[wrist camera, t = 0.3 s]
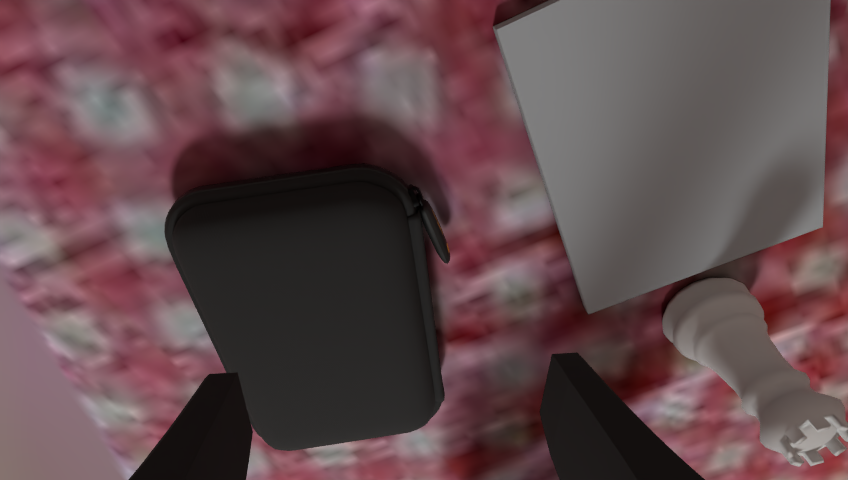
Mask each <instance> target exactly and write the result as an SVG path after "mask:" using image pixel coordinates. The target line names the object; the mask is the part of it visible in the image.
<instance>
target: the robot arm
mask: <svg viewBox="0 0 848 480" xmlns="http://www.w3.org/2000/svg"><path fill="white" fill-rule="evenodd" d="M540 416H541V420H542V424H543V428H544V432H545V436H546V440H547V444H548V447H549V451H550V455H551V458H552V460H553V463H554V466H555V468H556V471H557V474H558V476H559V479H560V480H705V479H704V478H702V477H701V476H700V475H699V474H698V473H697V472H695V471H694V470H693V469H692V468H691V467H690V466H689V465H688V464H686V463H685V462H684V461H683V460H682V459H681V458H680V457H679V456H678V455H677V454H676V453H674V452H673V451H672V450H671V449H670V448H669V447H668V446H667V445H666V444H665V443H664V442H663V441H662V440H661V439H660V438H659V437H658V436H656V435H655V434H654V433H653V432H652V431H651V430H650V429H649V428H648V427H647V426H646V425H645V424H644V423H643V422H642V421H641V420H640V419H639V418H638V417H637V416H636V415H635V414H634V413H633V412H632V411H631V410H630V409H629V407H628V406H627V405H626V404H625V403H624V402H623V401H622V400H621V399H620V398H619V397H618V396H617V395H616V394H615V393H614V392H613V391H612V390H611V388H610V387H609V386H608V385H607V384H606V383H605V382H604V381H603V380H602V379H601V378H600V377H599V376H598V374H597V373H596V372H595V371H594V370H593V369H592V368H591V367H590V366H589V365H588V364H587V362H586V361H585V360H584V359H583V358H582V357H581V356H580V355H579V354H578V353H563V354H552V357H551V361H550V366H549V371H548V375H547V380H546V385H545V389H544V394H543V399H542V403H541V408H540ZM252 433H253V431H252V427H251V423H250V419H249V415H248V411H247V407H246V403H245V400H244V396H243V392H242V388H241V384H240V380H239V376H238V372H237V373H220V374H209V375H208V376H207V377H206V378H205V379H204V381H203V382H202V383H201V385H200V386H199V388H198V389H197V391H196V392H195V393H194V395H193V396H192V398H191V399H190V401H189V402H188V403H187V405H186V406H185V408H184V409H183V410H182V412H181V413H180V414H179V416H178V417H177V418H176V420H175V421H174V423H173V424H172V425H171V427H170V428H169V429H168V431H167V432H166V433H165V435H164V436H163V437H162V438H161V440H160V441H159V442H158V444H157V445H156V446H155V447H154V449H153V450H152V451H151V453H150V454H149V455H148V457H147V458H146V459H145V460H144V462H143V463H142V464H141V465H140V467H139V468H138V469H137V470H136V472H135V473H134V474H133V475H132V476H131V477H130V479H129V480H246V476H247V469H248V462H249V456H250V448H251V441H252Z"/></svg>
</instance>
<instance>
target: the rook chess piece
mask: <svg viewBox="0 0 848 480" xmlns="http://www.w3.org/2000/svg"><path fill="white" fill-rule="evenodd" d="M662 325H663V333H664V335H665V336H666V337H667V338H668V339H669V340H670V342H673V344H674V346H675V347H676V348H677V349H678V351H679V352H680V353H681V354H682V355H684V356H685V357H686V358H689V359H692V360H695V361H698V362H699V364H700V365H703V366H706V367H709V368H711V369H712V370H713V371H715V372H716V373H717V374H718V375H719V376H720V377H721V378H722V379H723V380H724V381H725V382H726V383H727V384H728V385H729V386H730V387H731V388H732V389H734V390H735V392H736V393H737V394H738V395H739V397H740V398H741V399H742V409H743V410H744V411H745V412H746V413H747V414H750V415H753V416H756V417H757V418H758V420H759V422H760V442H761V443H762V444H763V445H764V446H765V447H766V448H769V449H771V450H774V451H777V452H780V453H782V454H783V455H784V456H785V458H786V459H787V460H788V461H789V462H790V464H792V465H796V466H799V467H800V466H801V465H802V464H803V463H804V461H803V460H802V459H801V457H800V456H799V455H803V457H804V458H805V459H806V460H807V462H808V463H809V464H810V465H811V466H812V465H816V464H820V463H823V462H824V460H823V458H822V457H821V456H820V454H819V453H818V452H817V451H818V450H820V449H822V448H824V447H827V448H828V449H829V450H830V451H831V452H832V453H833V454H834V455H835V456H838V455H839V454H840V453H842V452H843V451H844V450H846V449H847V448H846V447H845V446H844V445H843V444H842V443H841V442H840V440H839V439H838V437H839V436H841V437H842V438H843V439H844V440H845V441H846V442H847V441H848V423H847V422H846V421H845V407H844V405H843V403H842V402H841V400H840V399H837V398H834V397H831V396H828V395H824V394H821V393H817V392H815V391H814V390H813V389H811V388H810V379H809V378H808V376H807V375H806V373H804V372H801V371H798V370H795V369H794V368H793V367H792V366H791V365H790V364H789V363H788V362H787V361H786V360H785V359H784V358H783V356H782V355H781V354H780V352H779V351H778V349H777V348H776V347H775V345H774V344H773V342H772V341H771V340H770V337H769V335H768V333H767V324H766V323H765V321H764V311H763V309H762V307H761V305H760V304H759V302H758V301H757V299H756V298H755V296H753V295H750V292H749V291H748V289H747V288H746V286H745V285H744V284H743V283H741V282H738V281H736V280H734V279H731V278H705V279H702V280H699V281H696V282H693V283H691V284H689V285H688V286H686V287H684V288H683V289H681V290H680V291H678V292H677V293H676V295H675V296H674V297H673V298H672V299H671V300H670V301H669V302H668V305H667V307H666V310H665V312H664V315H663V320H662Z"/></svg>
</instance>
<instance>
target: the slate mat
mask: <svg viewBox="0 0 848 480" xmlns="http://www.w3.org/2000/svg"><path fill="white" fill-rule="evenodd" d="M830 1H831V0H549V1H547V2H544V3H542V4H540V5H538V6H536V7H534V8H532V9H530V10H527V11H525V12H523V13H521V14H519V15H517V16H515V17H512V18H510V19H508V20H506V21H504V22H502V23H500V24H497V25H495V26H493V29H494V32H495V35H496V38H497V41H498V44H499V47H500V51H501V54H502V57H503V60H504V63H505V66H506V69H507V72H508V75H509V78H510V81H511V84H512V87H513V91H514V94H515V97H516V100H517V103H518V106H519V109H520V112H521V115H522V118H523V121H524V124H525V127H526V131H527V134H528V137H529V140H530V143H531V146H532V149H533V152H534V155H535V158H536V161H537V164H538V167H539V170H540V174H541V177H542V180H543V183H544V186H545V189H546V192H547V195H548V198H549V201H550V204H551V207H552V210H553V214H554V217H555V220H556V223H557V226H558V229H559V232H560V235H561V238H562V241H563V244H564V247H565V250H566V254H567V257H568V260H569V263H570V266H571V269H572V272H573V275H574V278H575V281H576V284H577V287H578V290H579V293H580V297H581V300H582V303H583V306H584V308H585V310H586V311H587V313H588V314H591V313H594V312H596V311H599V310H602V309H604V308H607V307H610V306H612V305H615V304H618V303H620V302H623V301H626V300H629V299H631V298H634V297H637V296H639V295H642V294H645V293H647V292H650V291H653V290H655V289H658V288H661V287H663V286H666V285H669V284H671V283H674V282H677V281H679V280H682V279H685V278H687V277H690V276H693V275H695V274H698V273H701V272H703V271H706V270H709V269H711V268H714V267H717V266H719V265H722V264H725V263H727V262H730V261H733V260H735V259H738V258H741V257H743V256H746V255H749V254H751V253H754V252H757V251H759V250H762V249H765V248H767V247H770V246H773V245H775V244H778V243H781V242H784V241H786V240H789V239H792V238H794V237H797V236H800V235H802V234H805V233H808V232H810V231H813V230H816V229H818V228H821V227H823V203H824V174H825V145H826V116H827V87H828V59H829V30H830Z"/></svg>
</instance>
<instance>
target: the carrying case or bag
mask: <svg viewBox="0 0 848 480" xmlns="http://www.w3.org/2000/svg"><path fill="white" fill-rule="evenodd" d="M415 190H416V191H417V192H418V193H417V192H416V191H415ZM421 218H422V221H423V223H424V226H425V228H426V231H427V233H428V235H429V237H430V239H431V241H432V243H433V245H434V247H435V249H436V251H437V253H438V255H439V256H440V258H441V259H442V261H443V262H444V263H447V264H448V262H449V261H450V252H449V248H448V244H447V242H446V239H445V237H444V234H443V231H442V229H441V226H440V224H439V222H438V220H437V217H436V215H435V213H434V211H433V209H432V207H431V206H430V204H429V203H428V201H427V200H424V199H423V198H422V194H421V192H420V190H419V188H418V187H416V186H413V185H409V186H407V185H406V184H405V183H404V182H403V180H402V179H400V178H399V177H398V176H396V175H395V174H393V173H392V172H390V171H388V170H386V169H383V168H381V167H378V166H374V165H370V164H350V165H344V166H337V167H330V168H323V169H316V170H309V171H302V172H296V173H289V174H282V175H275V176H268V177H261V178H254V179H248V180H241V181H234V182H227V183H220V184H214V185H207V186H201V187H197V188H194V189H192V190H190V191H188V192H186V193H185V194H183V195H182V196H181V197H180V198H179V199H178V200H177V201H176V202H175V203H174V204H173V206H172V207H171V209H170V210H169V212H168V215H167V217H166V221H165V238H166V241H167V245H168V248H169V251H170V253H171V255H172V257H173V260H174V262H175V264H176V267H177V269H178V271H179V273H180V275H181V277H182V280H183V282H184V284H185V286H186V288H187V290H188V292H189V294H190V296H191V299H192V301H193V303H194V305H195V307H196V309H197V311H198V313H199V315H200V317H201V320H202V322H203V324H204V326H205V328H206V330H207V332H208V334H209V336H210V339H211V341H212V343H213V345H214V347H215V349H216V351H217V353H218V355H219V358H220V360H221V362H222V364H223V366H224V368H225V370H226V373H237V372H238V376H239V380H240V384H241V388H242V392H243V396H244V400H245V403H246V407H247V411H248V415H249V419H250V423H251V425H252V426H253V428H254V430H255V431H256V432H257V434H258V435H259V436H260V437H262V439H263V440H264V441H265V442H266V443H267V444H268V445H270V446H271V447H273V448H274V449H278V450H286V451H292V450H300V449H307V448H313V447H319V446H326V445H332V444H339V443H345V442H351V441H358V440H364V439H371V438H377V437H383V436H390V435H396V434H402V433H408V432H412V431H414V430H417V429H419V428H421V427H423V426H424V425H425V424H427V423H428V421H429V420H430V419H431V418H432V417H433V416H434V415H435V414H436V412H437V411H438V410H439V408H440V406H441V403H442V402H443V401H444V396H445V394H444V387H443V382H442V375H441V368H440V360H439V352H438V344H437V337H436V329H435V321H434V313H433V306H432V298H431V290H430V282H429V275H428V267H427V259H426V252H425V244H424V236H423V228H422V221H421Z"/></svg>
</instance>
